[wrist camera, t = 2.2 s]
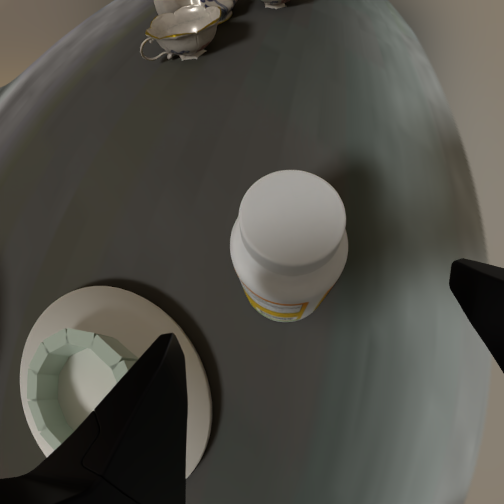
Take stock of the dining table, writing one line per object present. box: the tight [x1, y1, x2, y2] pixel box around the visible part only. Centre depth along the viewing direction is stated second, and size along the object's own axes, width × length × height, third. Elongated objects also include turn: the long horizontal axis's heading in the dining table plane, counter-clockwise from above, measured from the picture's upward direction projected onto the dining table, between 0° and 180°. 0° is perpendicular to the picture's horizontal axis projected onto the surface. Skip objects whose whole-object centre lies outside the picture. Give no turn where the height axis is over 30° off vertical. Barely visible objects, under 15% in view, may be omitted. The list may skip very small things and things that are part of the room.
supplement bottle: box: [230, 170, 348, 322], centre depth 16 cm, size 5×5×10 cm
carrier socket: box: [20, 286, 212, 478], centre depth 16 cm, size 16×16×4 cm
